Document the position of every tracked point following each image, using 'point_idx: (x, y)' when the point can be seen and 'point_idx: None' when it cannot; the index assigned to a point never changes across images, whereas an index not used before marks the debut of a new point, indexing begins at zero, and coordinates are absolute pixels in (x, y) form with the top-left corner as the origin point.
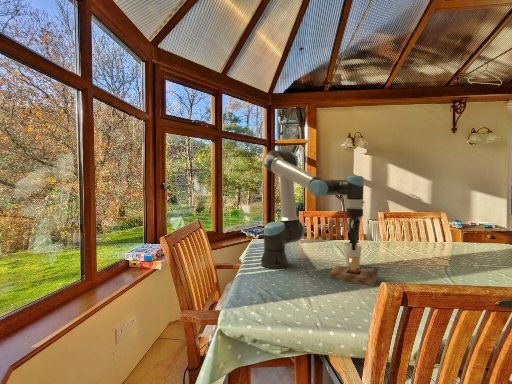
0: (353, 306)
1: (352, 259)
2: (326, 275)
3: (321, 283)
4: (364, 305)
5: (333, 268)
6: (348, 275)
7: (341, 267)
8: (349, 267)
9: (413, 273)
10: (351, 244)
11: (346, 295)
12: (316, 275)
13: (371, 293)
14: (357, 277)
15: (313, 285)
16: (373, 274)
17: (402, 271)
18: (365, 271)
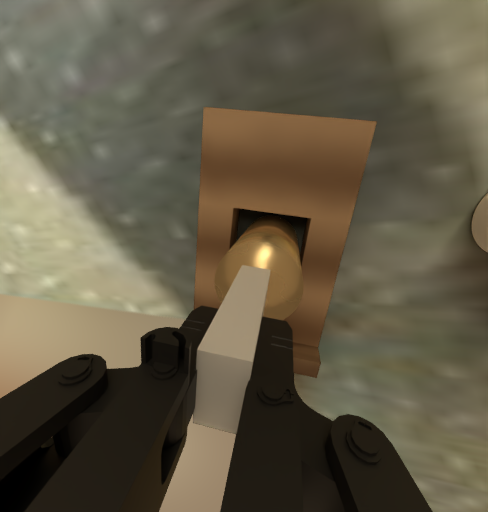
0: (5, 256)
1: (216, 272)
2: (251, 84)
3: (119, 93)
4: (31, 285)
5: (287, 114)
6: (198, 226)
7: (330, 166)
8: (244, 233)
9: (427, 471)
10: (203, 340)
11: (63, 228)
12: (224, 15)
13: (129, 308)
14: (197, 269)
15: (73, 58)
16: None
17: (449, 443)
18: (298, 307)
